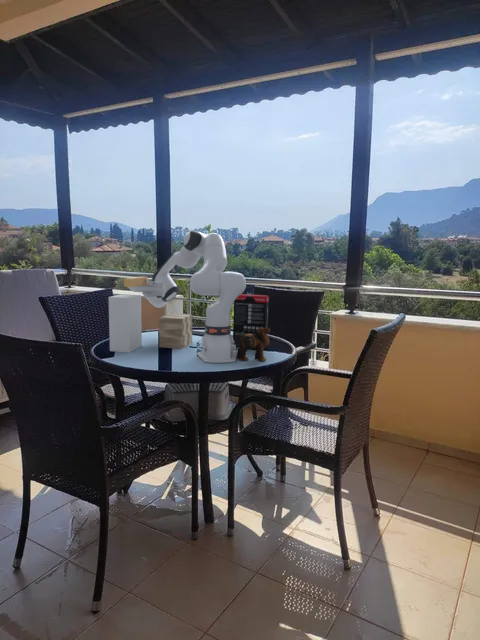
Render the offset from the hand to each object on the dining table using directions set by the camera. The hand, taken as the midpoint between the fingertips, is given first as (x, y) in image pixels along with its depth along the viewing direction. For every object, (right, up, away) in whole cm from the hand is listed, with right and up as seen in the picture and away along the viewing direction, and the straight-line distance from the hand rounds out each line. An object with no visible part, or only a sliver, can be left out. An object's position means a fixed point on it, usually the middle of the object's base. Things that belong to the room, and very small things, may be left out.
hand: (141, 280), depth 228 cm
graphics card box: (+57, -35, -5) cm, 67 cm away
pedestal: (+18, -34, -2) cm, 38 cm away
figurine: (+57, -39, -30) cm, 76 cm away
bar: (-1, -3, -5) cm, 6 cm away
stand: (-4, -35, -13) cm, 38 cm away
